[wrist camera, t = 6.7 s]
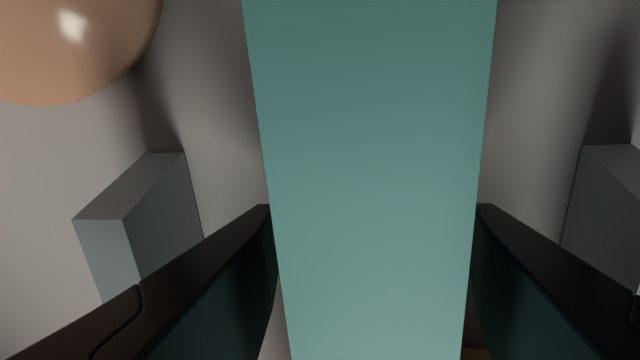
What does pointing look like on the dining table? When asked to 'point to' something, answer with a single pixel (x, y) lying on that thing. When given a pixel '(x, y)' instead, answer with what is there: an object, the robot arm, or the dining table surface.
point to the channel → (185, 231)
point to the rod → (372, 167)
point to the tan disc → (70, 46)
